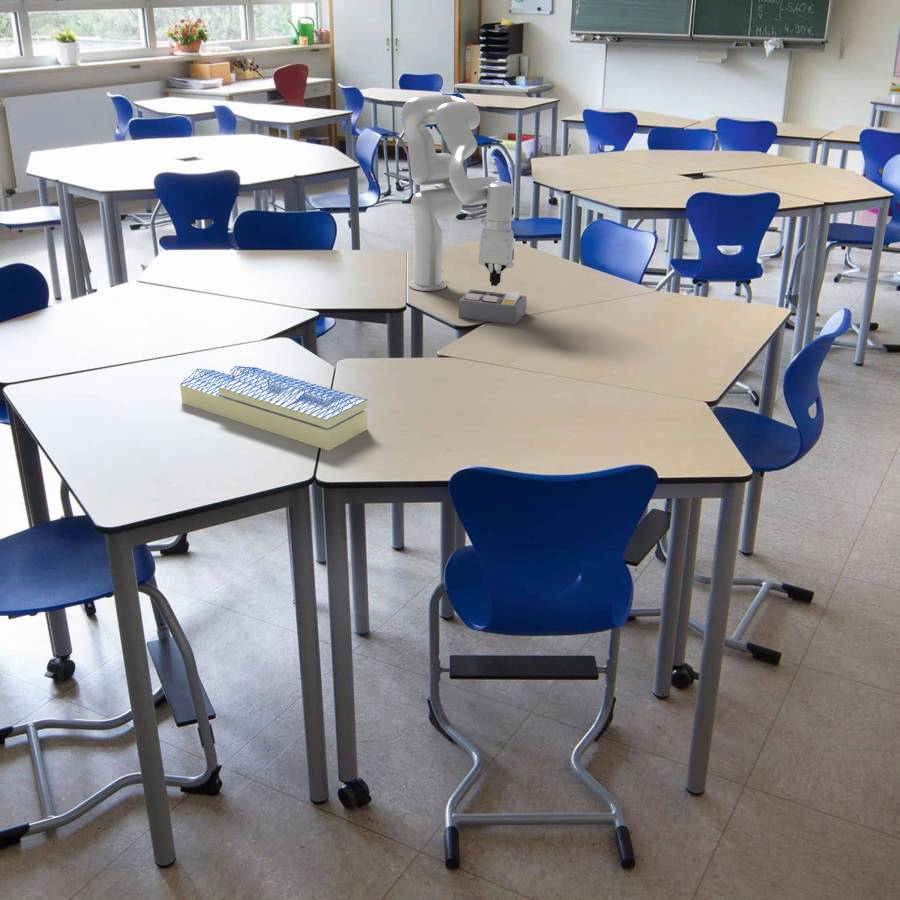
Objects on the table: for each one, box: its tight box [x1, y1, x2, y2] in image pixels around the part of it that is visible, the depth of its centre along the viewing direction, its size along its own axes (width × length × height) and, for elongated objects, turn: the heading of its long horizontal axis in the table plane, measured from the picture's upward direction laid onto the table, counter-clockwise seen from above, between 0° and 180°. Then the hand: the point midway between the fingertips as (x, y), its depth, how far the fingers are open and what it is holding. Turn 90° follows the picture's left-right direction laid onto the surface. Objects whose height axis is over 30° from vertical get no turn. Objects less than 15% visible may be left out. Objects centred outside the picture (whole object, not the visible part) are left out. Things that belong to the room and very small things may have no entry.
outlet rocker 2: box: [483, 295, 502, 302], centre depth 299 cm, size 8×4×2 cm, turn 162°
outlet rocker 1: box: [465, 292, 484, 301], centre depth 300 cm, size 8×4×2 cm, turn 162°
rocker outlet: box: [501, 291, 521, 305], centre depth 297 cm, size 8×4×2 cm, turn 161°
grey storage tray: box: [458, 289, 528, 326], centre depth 300 cm, size 12×18×6 cm, turn 72°
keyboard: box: [179, 365, 369, 451], centre depth 227 cm, size 45×15×10 cm, turn 57°
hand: (494, 284), depth 300 cm, fingers closed
